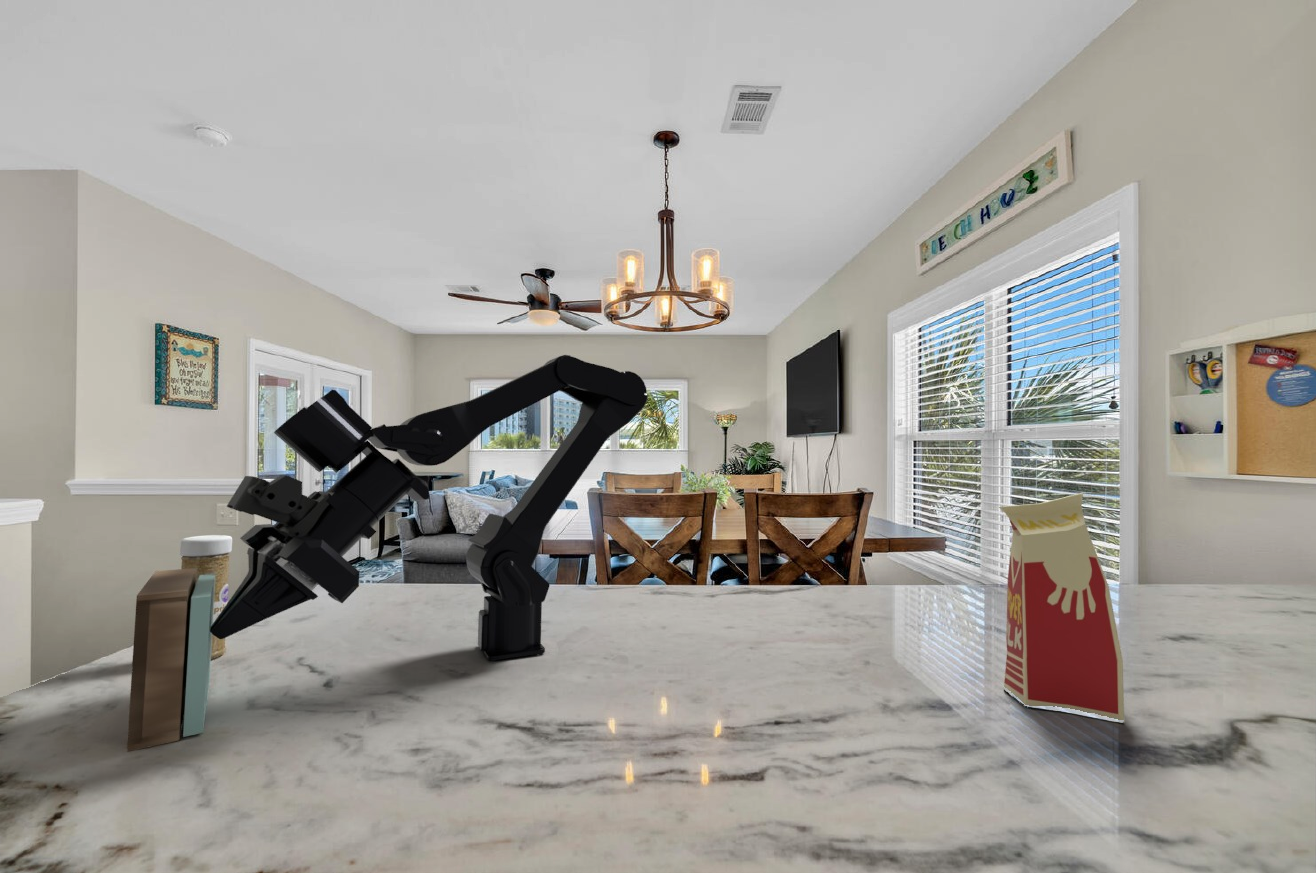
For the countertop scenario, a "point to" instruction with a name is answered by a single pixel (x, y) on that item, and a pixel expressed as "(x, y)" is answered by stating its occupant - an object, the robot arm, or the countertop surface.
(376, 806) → the countertop surface
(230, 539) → the sprinkles bottle
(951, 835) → the countertop surface
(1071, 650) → the milk carton
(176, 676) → the cabinet
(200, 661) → the door
